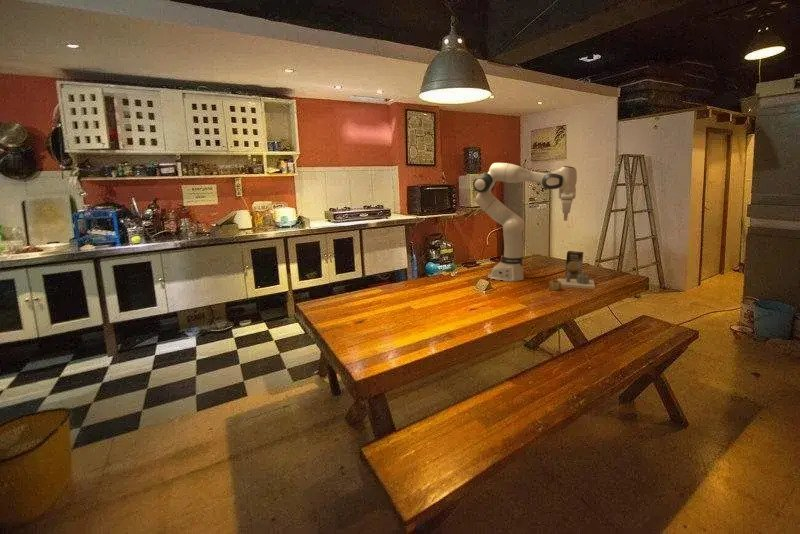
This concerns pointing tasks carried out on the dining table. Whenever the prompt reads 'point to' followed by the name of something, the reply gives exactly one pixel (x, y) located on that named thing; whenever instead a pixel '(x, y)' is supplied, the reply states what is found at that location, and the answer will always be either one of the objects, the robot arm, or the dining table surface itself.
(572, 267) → the coffee box
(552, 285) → the brass gear
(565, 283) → the gear board
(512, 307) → the dining table surface
